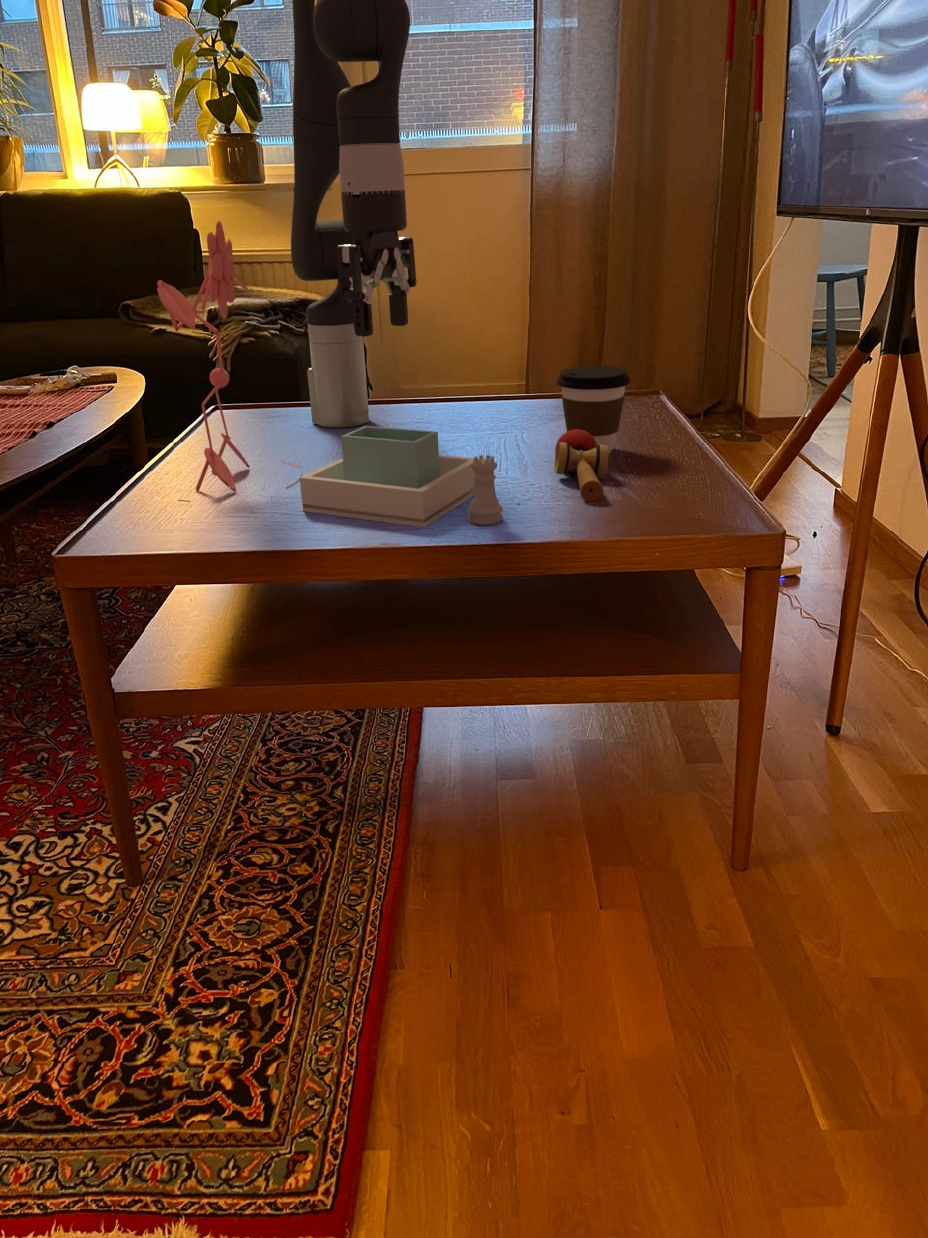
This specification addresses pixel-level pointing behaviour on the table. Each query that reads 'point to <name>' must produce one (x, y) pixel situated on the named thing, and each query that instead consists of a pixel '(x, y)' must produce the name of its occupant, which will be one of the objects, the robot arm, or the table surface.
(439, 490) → the beige tray
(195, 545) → the table surface
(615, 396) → the coffee cup
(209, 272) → the pink thin branched figure
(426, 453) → the teal tote
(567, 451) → the kendama
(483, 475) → the rook chess piece
